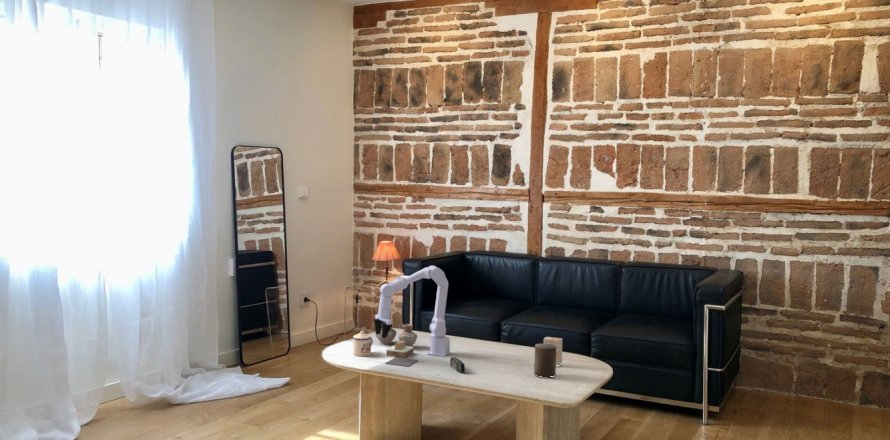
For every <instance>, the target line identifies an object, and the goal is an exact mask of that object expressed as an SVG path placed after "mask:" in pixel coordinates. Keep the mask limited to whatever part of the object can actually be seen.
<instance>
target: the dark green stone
mask: <svg viewBox="0 0 890 440" xmlns="http://www.w3.org/2000/svg"><path fill="white" fill-rule="evenodd" d="M449 362H450V367H451V368H452V369H453V370H455V371H456V372H457V373H460V374H461V373H463V374H464V375H467V372H466V371H465V363H464V362H463V361H462V360H460V359H459V358H457V357H453V356H451V357H450V360H449Z"/></svg>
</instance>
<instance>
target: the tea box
mask: <svg viewBox="0 0 890 440" xmlns="http://www.w3.org/2000/svg"><path fill="white" fill-rule="evenodd" d="M411 354H412V355H413V354H414V347H413V348H412V349H411V350H409V351H407V352H406V353H403V352H395V351H387V350H386V357H391V358H392V357H393V358H396V357H401V358H408V357H409V356H411Z"/></svg>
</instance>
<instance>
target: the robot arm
mask: <svg viewBox="0 0 890 440" xmlns="http://www.w3.org/2000/svg"><path fill="white" fill-rule="evenodd" d="M421 279H428V280H430V279H432V280H433V281H434V282H435V283H436V285H437V290H436V296H435V297H436V299H435V306H434V313H433V314H434V315H433V317H432V318H431V319H432V320H431V323H429V331H430V332H431V333H430V340H429V341H430V343H429V344H430V346H429V347H430V349H429V350H430V351H429V352H427V355H431V356H441V357H446V356H447V355H449V354H450V353H451V338H450V337H448V336H446V333H447V328H446V320H445V314H446V307H447V298H448V290H449V281H448V279H447V277H446V275H445V272H444V270H442V269H441V268H440V267H437V266H436V265H429V266H427V267H424V268H422V269H421V270H418V271H416V272H414V273H413V274H411V275H409V276H406V277H403V276H401V277H400V276H398V277H396V279H394V280H392V281H388V283H384V284H382V285H381V287H380V288H379V292H380V299H379V304H378V305H379V306H378V311H377V313H375V318H373V319H372V320H373V321H372V322H373V324H374V330H375V332H376V334H380V333H381V329H382V338H386V337H387V335H388V332H389V330H390V329H391V328H393V324H391V323H392V320H391V318H390V314H391V308H392V307H391V305H392V298H393V296H394V294H395V293H398V292H401V291H403V290H404V289H407V288H408V285H409V284H411V283H414V282H416V281H419V280H421ZM384 322H385V323H384ZM375 332H374V333H375Z"/></svg>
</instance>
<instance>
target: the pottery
mask: <svg viewBox="0 0 890 440" xmlns="http://www.w3.org/2000/svg"><path fill="white" fill-rule="evenodd" d="M384 323H385V322H384ZM391 324H392V322H391ZM392 325H393V324H392ZM402 326H403V331H402V332H401V333H399V334H398V340H399V341H405V346H409V347H413V348H414V345H415V344H416V341H417V338H418V334H417V333H415V331H414V332H413V326H414V325H413V324H411V323H404V324H403V325H402ZM374 333H375V337H376V338H377V340H378V341H379V344H380V345H383V346H386V345H387V346H388V345H391V344H392V341H394V339H395V338H396V335H397V330H395V328H393V327H391V329H390V330H389V332H388V335H387V337H386V338H382V329H381V333H380V334H376V332H374ZM399 341H398V342H399Z"/></svg>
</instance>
